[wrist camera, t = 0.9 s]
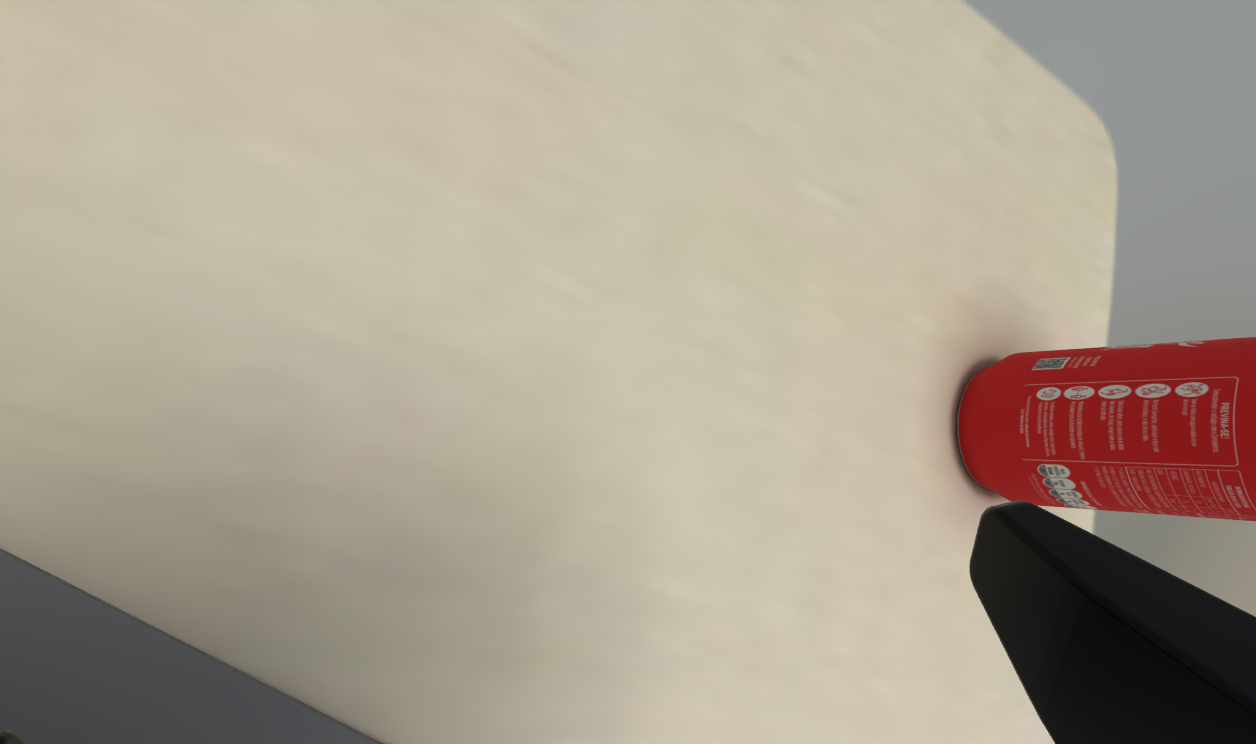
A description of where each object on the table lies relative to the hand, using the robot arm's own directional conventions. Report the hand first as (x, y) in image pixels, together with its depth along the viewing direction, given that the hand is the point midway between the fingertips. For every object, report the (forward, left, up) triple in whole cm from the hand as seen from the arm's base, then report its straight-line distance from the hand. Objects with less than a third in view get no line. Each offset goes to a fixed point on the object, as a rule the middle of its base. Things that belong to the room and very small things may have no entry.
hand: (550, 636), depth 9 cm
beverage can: (+16, -20, -12) cm, 28 cm away
